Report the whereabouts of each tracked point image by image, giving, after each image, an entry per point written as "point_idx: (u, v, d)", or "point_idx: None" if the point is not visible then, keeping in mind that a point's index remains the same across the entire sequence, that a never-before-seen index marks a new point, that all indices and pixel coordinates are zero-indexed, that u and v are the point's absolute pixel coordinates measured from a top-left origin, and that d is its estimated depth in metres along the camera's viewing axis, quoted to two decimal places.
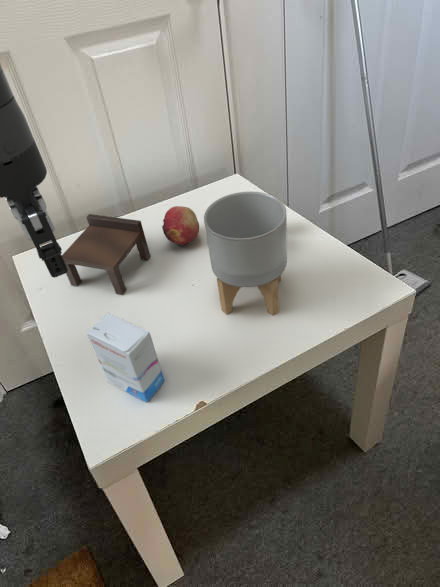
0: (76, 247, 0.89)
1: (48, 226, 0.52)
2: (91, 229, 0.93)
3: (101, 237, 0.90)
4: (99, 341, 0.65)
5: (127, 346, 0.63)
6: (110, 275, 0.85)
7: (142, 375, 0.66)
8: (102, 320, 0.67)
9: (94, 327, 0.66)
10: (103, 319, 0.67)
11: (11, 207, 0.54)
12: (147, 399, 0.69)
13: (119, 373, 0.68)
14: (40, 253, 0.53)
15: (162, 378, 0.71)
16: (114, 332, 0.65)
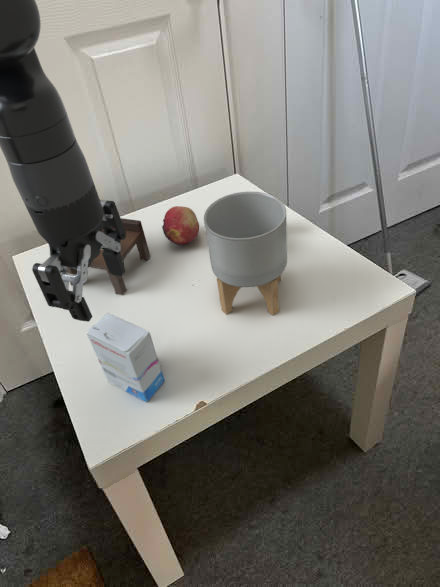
0: None
1: (53, 284, 0.49)
2: None
3: None
4: (99, 341, 0.65)
5: (127, 346, 0.63)
6: (110, 275, 0.85)
7: (142, 375, 0.66)
8: (102, 320, 0.67)
9: (94, 327, 0.66)
10: (103, 319, 0.67)
11: None
12: (147, 399, 0.69)
13: (119, 373, 0.68)
14: (47, 300, 0.52)
15: (162, 378, 0.71)
16: (114, 332, 0.65)
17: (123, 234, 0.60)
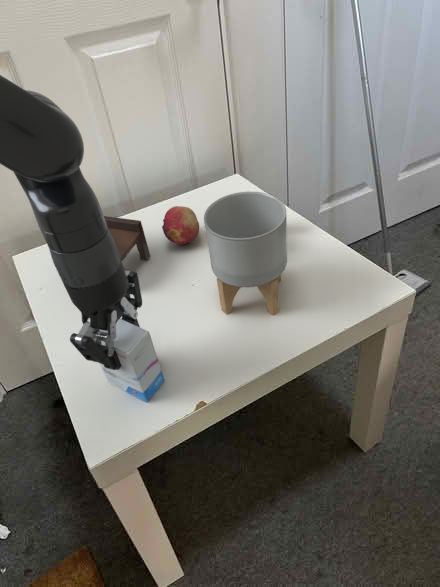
0: None
1: (89, 350, 0.57)
2: None
3: None
4: None
5: (127, 346, 0.63)
6: None
7: (142, 376, 0.66)
8: None
9: None
10: None
11: None
12: (147, 399, 0.69)
13: (119, 373, 0.68)
14: (85, 357, 0.60)
15: (162, 378, 0.71)
16: None
17: (140, 302, 0.67)
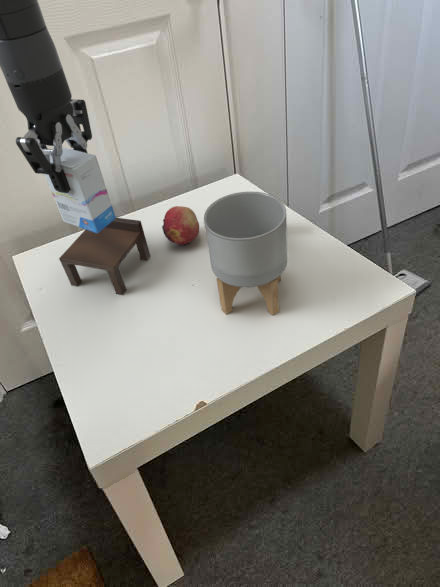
0: (76, 247, 0.89)
1: (34, 153, 0.62)
2: None
3: (101, 237, 0.90)
4: None
5: (73, 164, 0.67)
6: (110, 275, 0.85)
7: (90, 200, 0.71)
8: None
9: None
10: None
11: None
12: (97, 229, 0.74)
13: (70, 202, 0.73)
14: (33, 168, 0.65)
15: (113, 214, 0.76)
16: (63, 156, 0.70)
17: (89, 134, 0.72)
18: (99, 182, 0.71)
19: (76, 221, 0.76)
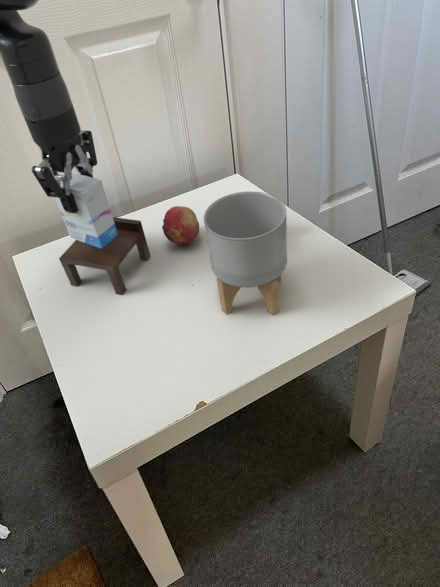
0: (76, 247, 0.89)
1: (48, 180, 0.71)
2: None
3: None
4: None
5: (81, 188, 0.76)
6: (110, 275, 0.85)
7: (96, 219, 0.79)
8: None
9: None
10: None
11: None
12: (101, 245, 0.83)
13: (78, 221, 0.81)
14: (45, 192, 0.74)
15: (115, 231, 0.85)
16: (72, 181, 0.78)
17: (95, 161, 0.81)
18: (104, 203, 0.80)
19: (82, 237, 0.84)
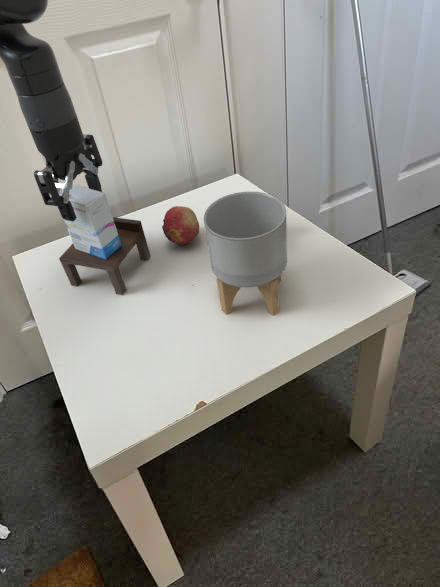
0: None
1: (48, 184, 0.71)
2: None
3: None
4: None
5: (86, 201, 0.78)
6: (110, 275, 0.85)
7: (100, 231, 0.81)
8: None
9: (61, 192, 0.81)
10: None
11: None
12: (106, 256, 0.84)
13: (82, 233, 0.83)
14: (44, 199, 0.74)
15: (119, 242, 0.86)
16: (76, 194, 0.80)
17: (100, 162, 0.82)
18: (108, 215, 0.82)
19: (87, 249, 0.86)
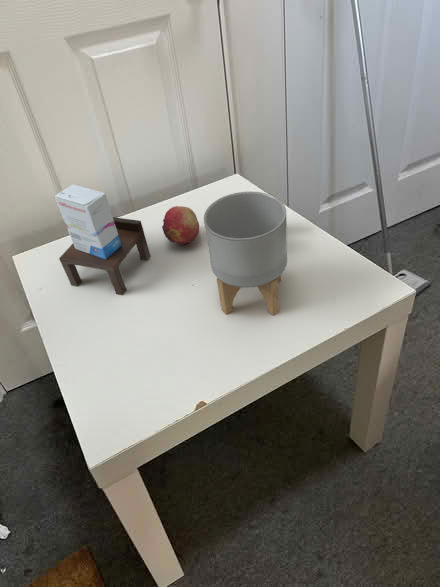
0: None
1: None
2: None
3: None
4: (64, 201, 0.80)
5: (86, 201, 0.78)
6: (110, 275, 0.85)
7: (100, 231, 0.81)
8: (68, 188, 0.82)
9: (61, 192, 0.81)
10: (69, 187, 0.82)
11: None
12: (106, 256, 0.84)
13: (82, 233, 0.83)
14: None
15: (119, 242, 0.86)
16: (76, 194, 0.80)
17: None
18: (108, 215, 0.82)
19: (87, 249, 0.86)
